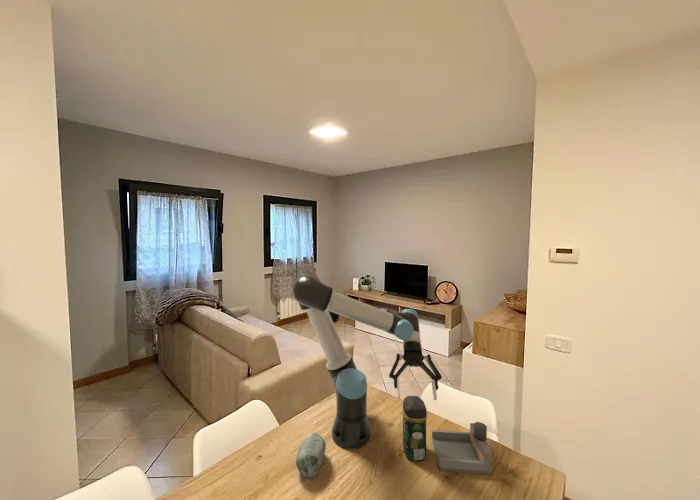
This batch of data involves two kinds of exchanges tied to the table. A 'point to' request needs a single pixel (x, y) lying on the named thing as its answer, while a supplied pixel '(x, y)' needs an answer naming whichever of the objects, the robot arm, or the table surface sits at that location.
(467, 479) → the table surface
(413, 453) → the coffee jar
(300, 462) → the spool
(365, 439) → the robot arm
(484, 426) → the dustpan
